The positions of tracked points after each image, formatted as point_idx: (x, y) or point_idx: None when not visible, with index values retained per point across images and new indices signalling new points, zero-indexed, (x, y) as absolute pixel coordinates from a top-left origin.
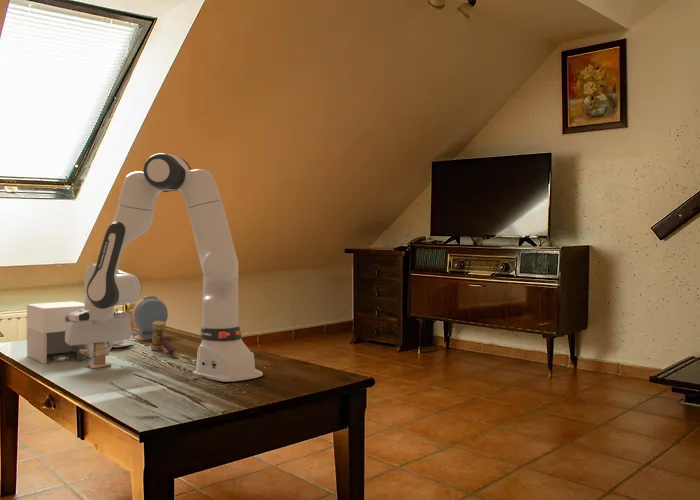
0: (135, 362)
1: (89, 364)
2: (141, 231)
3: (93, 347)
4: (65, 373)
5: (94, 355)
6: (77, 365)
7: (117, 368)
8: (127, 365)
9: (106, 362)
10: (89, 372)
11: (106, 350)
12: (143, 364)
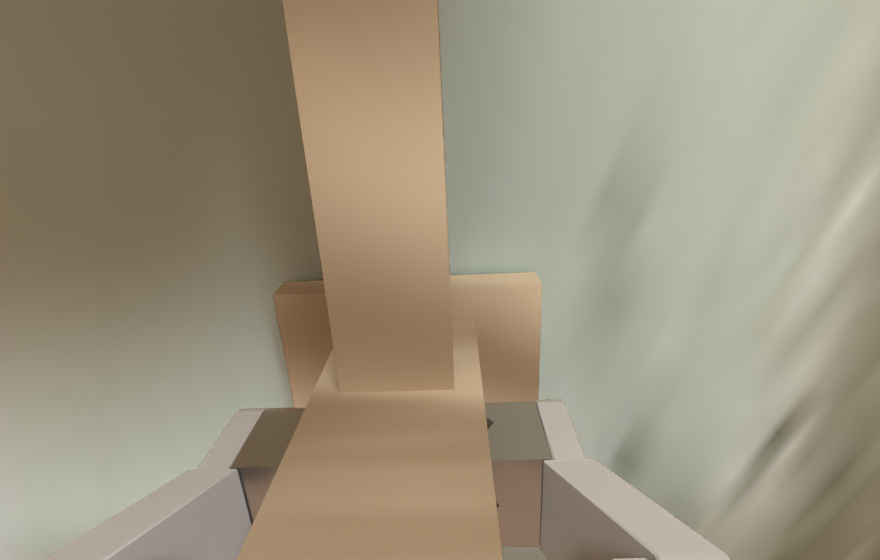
0: (873, 358)
1: (291, 340)
2: None
3: (260, 534)
4: (29, 461)
5: None
6: (181, 70)
7: None
8: (693, 459)
9: (519, 342)
10: None
11: (527, 530)
12: (843, 505)
